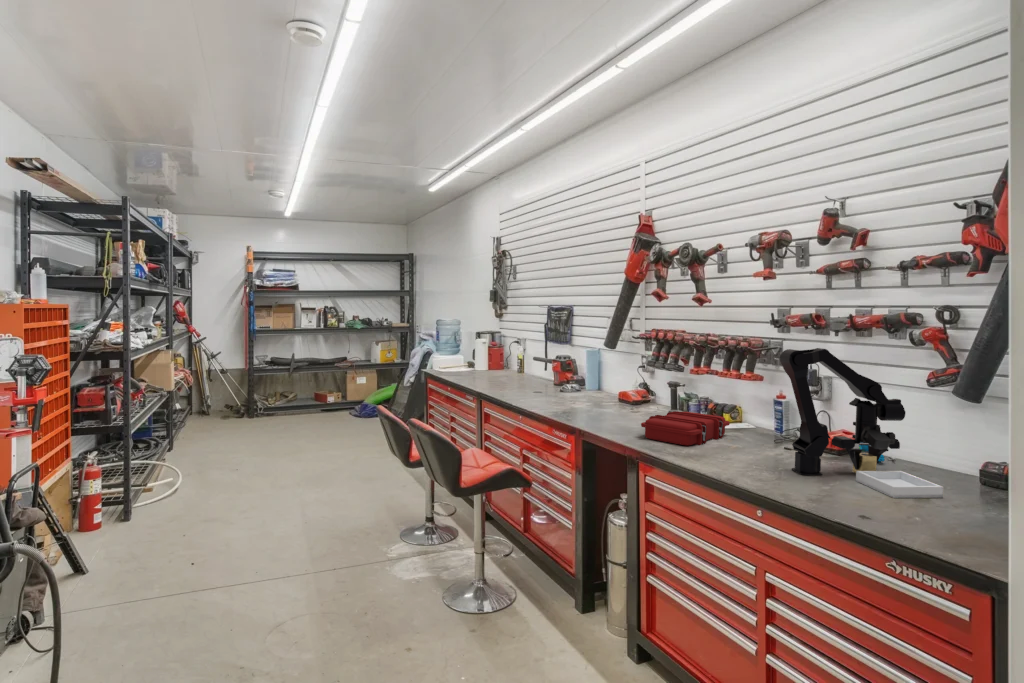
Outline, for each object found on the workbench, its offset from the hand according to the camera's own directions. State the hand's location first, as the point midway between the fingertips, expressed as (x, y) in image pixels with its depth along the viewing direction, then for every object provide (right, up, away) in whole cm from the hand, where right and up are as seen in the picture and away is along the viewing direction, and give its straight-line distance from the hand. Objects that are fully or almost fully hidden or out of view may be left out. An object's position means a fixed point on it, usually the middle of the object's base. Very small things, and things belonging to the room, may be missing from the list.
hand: (864, 469), depth 182 cm
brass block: (0, -1, 0) cm, 1 cm away
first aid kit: (-41, +1, +51) cm, 66 cm away
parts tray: (0, -2, -16) cm, 16 cm away
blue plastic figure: (+11, -1, +16) cm, 19 cm away
